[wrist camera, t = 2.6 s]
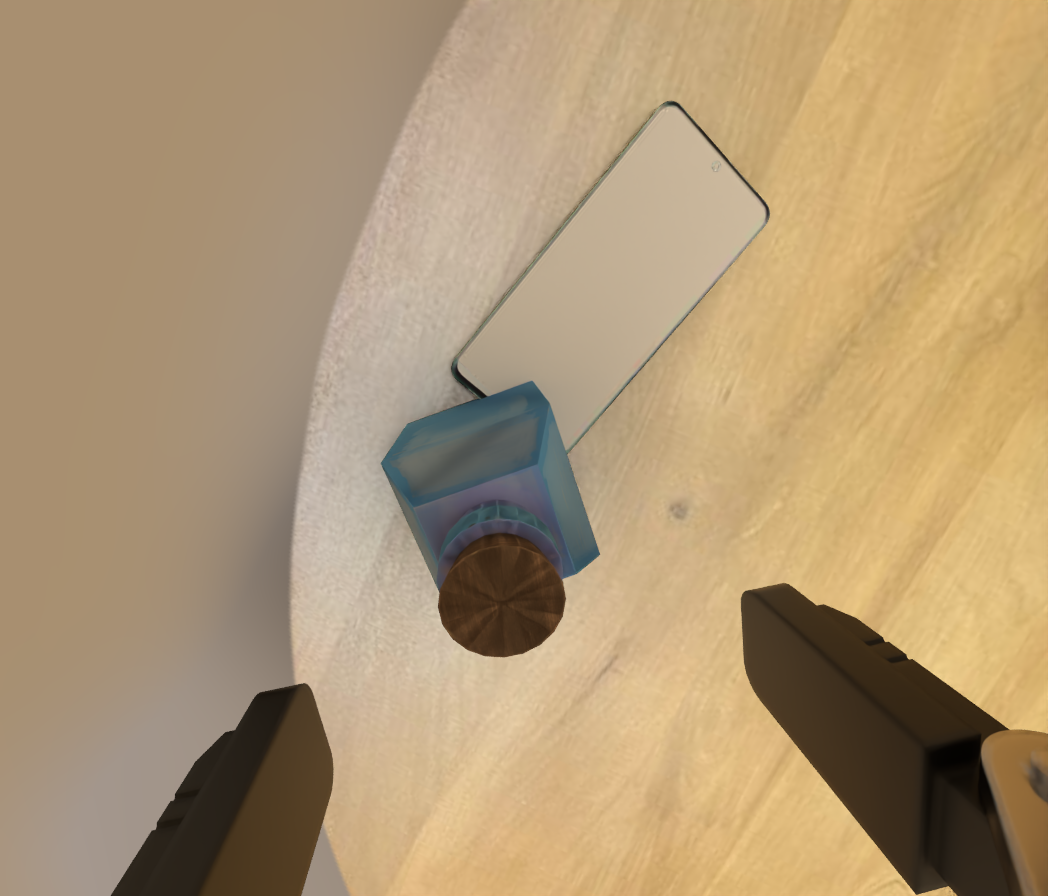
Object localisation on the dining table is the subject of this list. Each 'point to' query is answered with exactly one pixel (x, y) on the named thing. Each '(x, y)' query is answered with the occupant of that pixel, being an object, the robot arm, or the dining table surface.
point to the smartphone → (618, 274)
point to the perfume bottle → (494, 517)
